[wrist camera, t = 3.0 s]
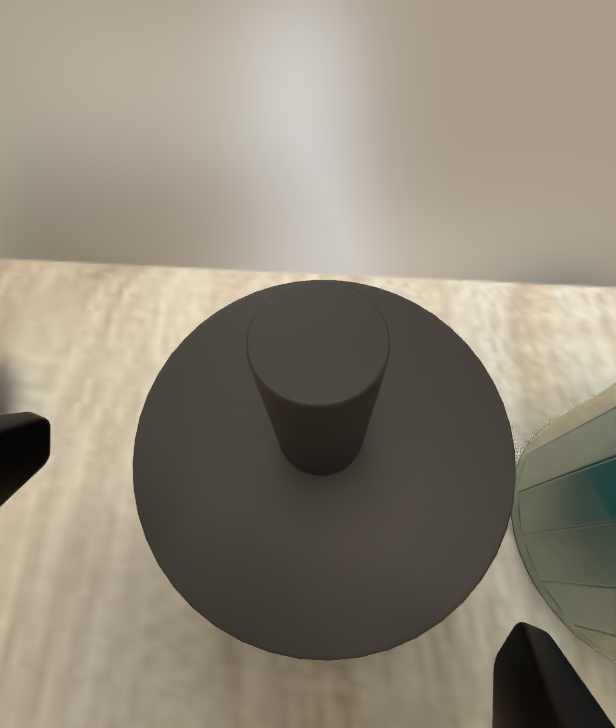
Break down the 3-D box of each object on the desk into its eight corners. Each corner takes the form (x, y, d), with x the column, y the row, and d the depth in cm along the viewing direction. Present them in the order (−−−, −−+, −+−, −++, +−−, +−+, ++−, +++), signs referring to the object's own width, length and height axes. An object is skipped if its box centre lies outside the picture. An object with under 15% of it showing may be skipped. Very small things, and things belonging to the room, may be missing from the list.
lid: (531, 687, 10) (802, 849, 4) (87, 626, 11) (-172, 695, 5) (493, 298, 15) (598, 133, 9) (186, 277, 16) (106, 115, 10)
